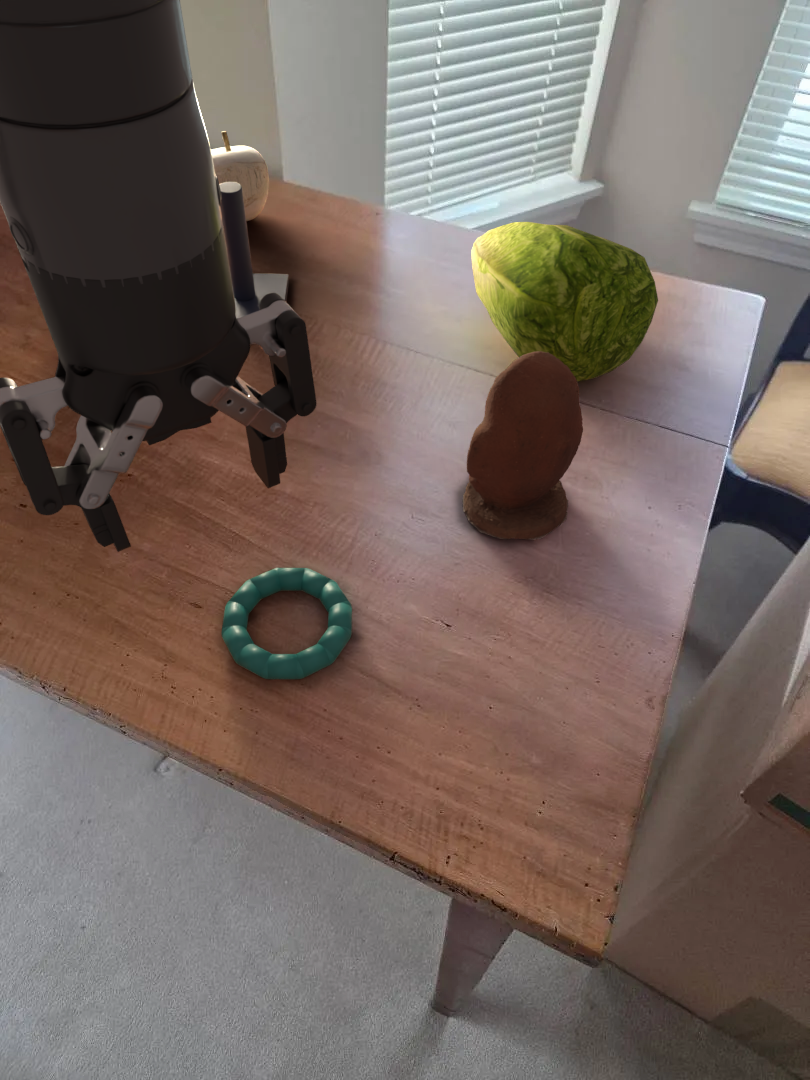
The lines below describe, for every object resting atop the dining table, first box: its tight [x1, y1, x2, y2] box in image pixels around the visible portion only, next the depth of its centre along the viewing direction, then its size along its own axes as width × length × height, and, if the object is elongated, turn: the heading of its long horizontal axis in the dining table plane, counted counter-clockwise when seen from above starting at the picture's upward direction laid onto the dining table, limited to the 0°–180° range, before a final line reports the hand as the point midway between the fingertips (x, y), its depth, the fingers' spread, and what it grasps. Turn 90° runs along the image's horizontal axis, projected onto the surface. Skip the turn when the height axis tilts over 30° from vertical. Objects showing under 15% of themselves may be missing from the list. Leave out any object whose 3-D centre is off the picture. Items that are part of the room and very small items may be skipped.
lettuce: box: [470, 221, 659, 383], centre depth 78 cm, size 14×24×15 cm
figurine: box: [461, 351, 584, 541], centre depth 60 cm, size 9×10×15 cm
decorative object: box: [211, 130, 270, 222], centre depth 92 cm, size 9×9×10 cm
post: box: [220, 182, 290, 319], centre depth 79 cm, size 9×9×13 cm
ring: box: [220, 567, 353, 680], centre depth 56 cm, size 10×10×2 cm
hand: (195, 507), depth 41 cm, fingers open, 8 cm apart
